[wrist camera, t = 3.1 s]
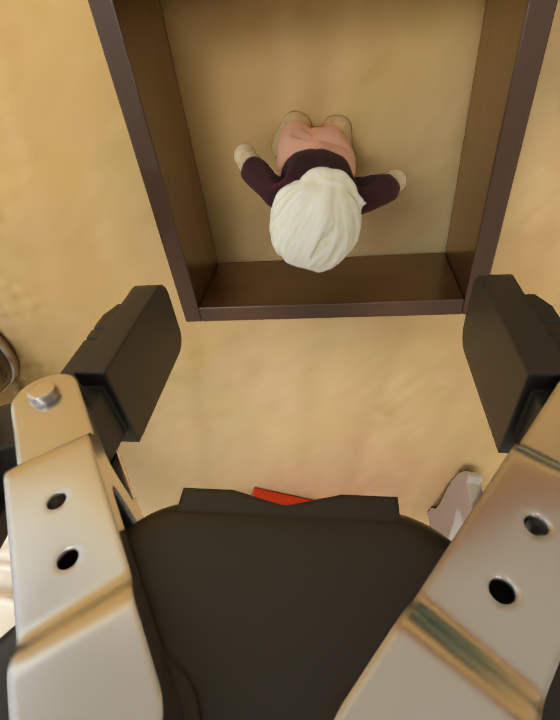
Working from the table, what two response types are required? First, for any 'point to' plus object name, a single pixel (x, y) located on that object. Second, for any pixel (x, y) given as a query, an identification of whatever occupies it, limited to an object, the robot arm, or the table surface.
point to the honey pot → (6, 591)
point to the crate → (353, 274)
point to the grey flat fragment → (456, 503)
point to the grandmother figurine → (315, 190)
